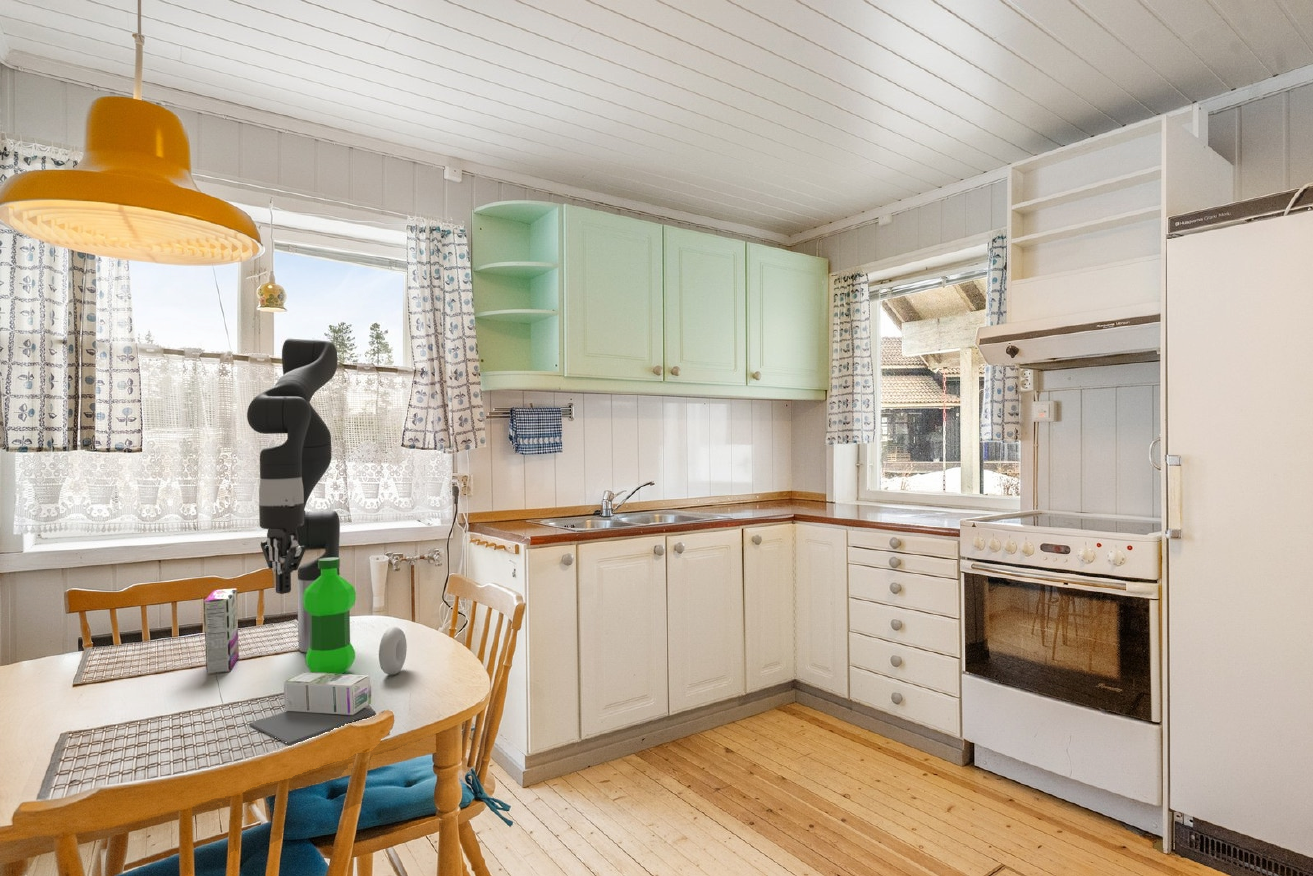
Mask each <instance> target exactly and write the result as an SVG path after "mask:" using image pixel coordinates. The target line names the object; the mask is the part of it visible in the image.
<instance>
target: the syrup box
mask: <svg viewBox="0 0 1313 876" xmlns="http://www.w3.org/2000/svg"><path fill="white" fill-rule="evenodd" d="M371 684H372V683H371V675H369V674H368V675H366V674H351V673H350V674H349V673H344V674H334V673H316V672H311V671H310V672H309V671H303V672H301V673H298V674H297V675H295V676H293V677H292V678H289V679H288V680H286V681H284V682H283V700H284V702H283V703H284V712H286V711H296V712H310V713H326V714H343V715H354V714H355V713H357V712H358V711H360V710H361V709H363V708H367V707H368V706H369V705H370V704H371V703H372V701H371V700H372V685H371Z"/></svg>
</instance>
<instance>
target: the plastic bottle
mask: <svg viewBox="0 0 1313 876" xmlns="http://www.w3.org/2000/svg"><path fill="white" fill-rule="evenodd" d="M340 562H341V560H340V557H339V558H336V557H331V558H322V559H319V560H318V568H319V569H321V576H320V577H318V578H317V579H316V580H315V581H314V582H313V583H312V584H311V585H310V586H309V587H307V588H306V589H305V591H304V594H303V605H304V608H305V610H306V611H307V612H308V613H309V614H310V648H309V649H308V651H307V652H306V654H305V664H306V666H307V668H308V670H309V671H310V672H316V673H334V674H343V673H344V674H345V672H346V671H347V670H348V669H350V668H351V667H352V665H353V663H354V662H355V659H356V652H355V649H354V646H353V644H351V625H350V623H351V620H350V619H351V617H350V615H351V614H350V612H351V611H350V610H351V609H352V608H353V607H354V606H355V604H356V600H357V596H356V595H357V592H356V589H355V587H354V586H353V585H352V584H351V583H350V582H349V581H347V580H346V579H345V578H343V577H342V576H341V575H338V574H337V568H338V567H339V568H340V567H341V564H340Z"/></svg>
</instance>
